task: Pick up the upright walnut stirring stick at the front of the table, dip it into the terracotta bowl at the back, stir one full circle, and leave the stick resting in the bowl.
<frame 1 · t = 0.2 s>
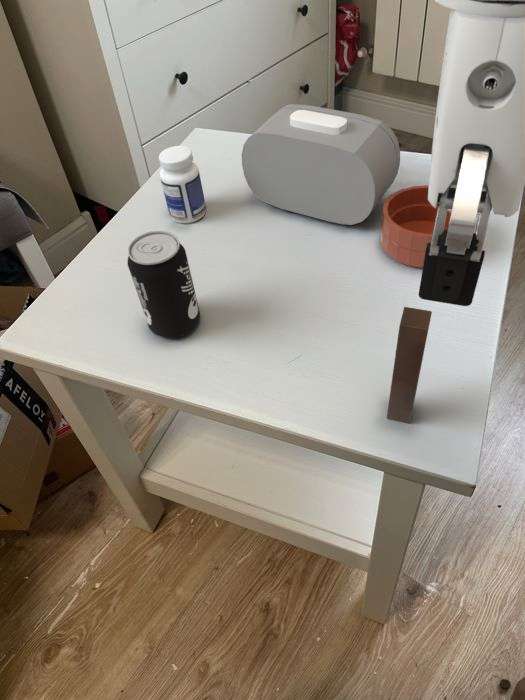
hand: (453, 251, 38), 24 cm above the table, tool pointing down, fingers open, 9 cm apart
beverage can: (175, 323, 71), on the table
bowl: (421, 243, 77), on the table
stick: (400, 412, 59), on the table
alarm clock: (320, 203, 86), on the table
pill bottle: (188, 214, 87), on the table
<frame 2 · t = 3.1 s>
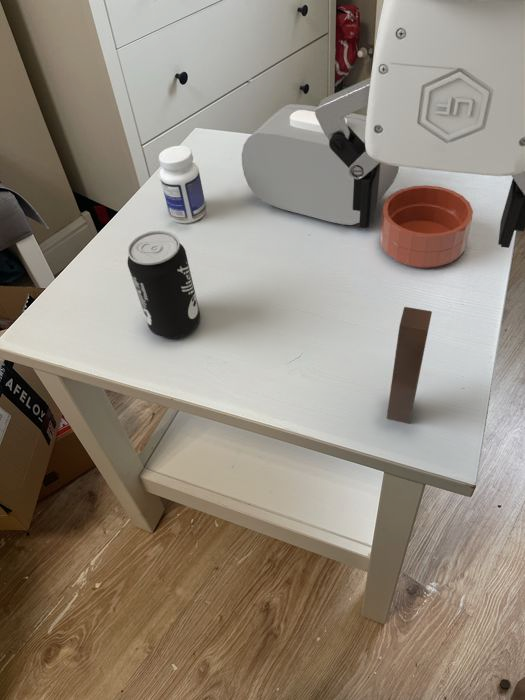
hand: (434, 226, 41), 24 cm above the table, tool pointing down, fingers open, 9 cm apart
nothing on the table moved.
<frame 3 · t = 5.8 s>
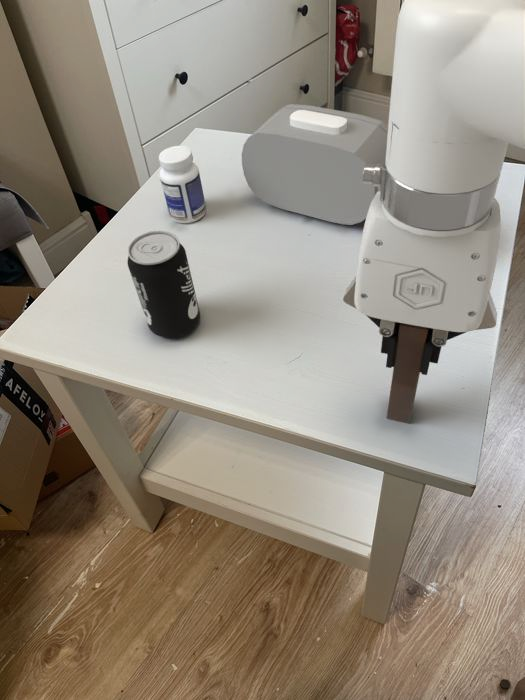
hand: (409, 358, 53), 9 cm above the table, tool pointing down, fingers closed on stick, 2 cm apart
stick: (400, 412, 59), on the table, touching gripper
everything else where it was.
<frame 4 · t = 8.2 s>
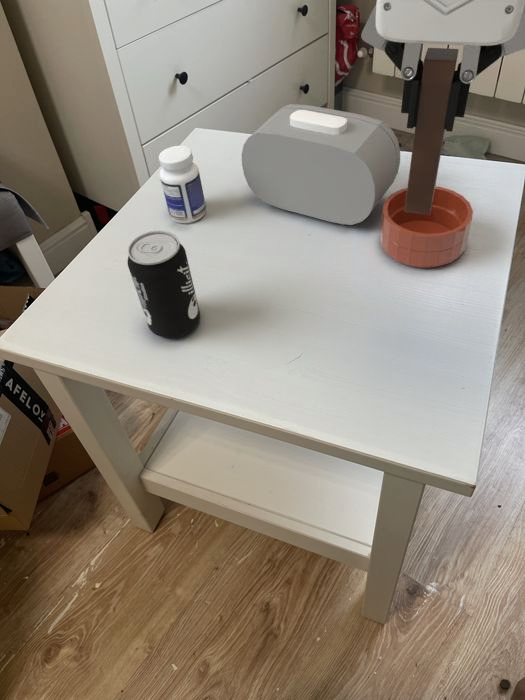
hand: (431, 120, 48), 25 cm above the table, tool pointing down, fingers closed on stick, 2 cm apart
stick: (418, 206, 55), point 17 cm above the table, touching gripper
everything else where it was.
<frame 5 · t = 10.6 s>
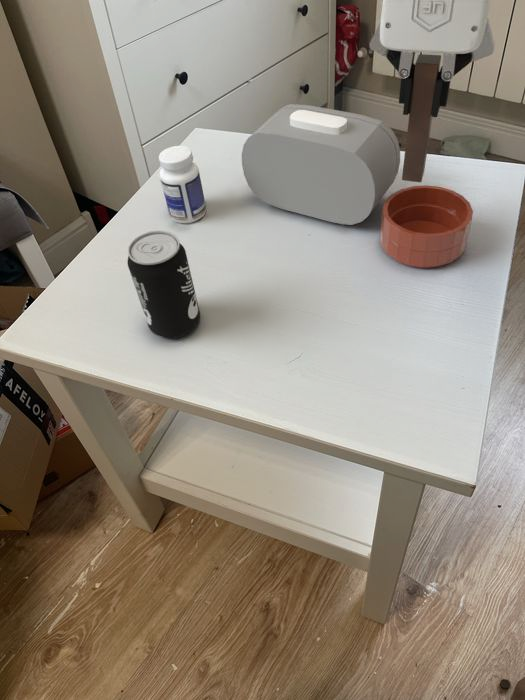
hand: (421, 109, 64), 19 cm above the table, tool pointing down, fingers closed on stick, 2 cm apart
stick: (412, 176, 70), point 10 cm above the table, touching gripper
everything else where it was.
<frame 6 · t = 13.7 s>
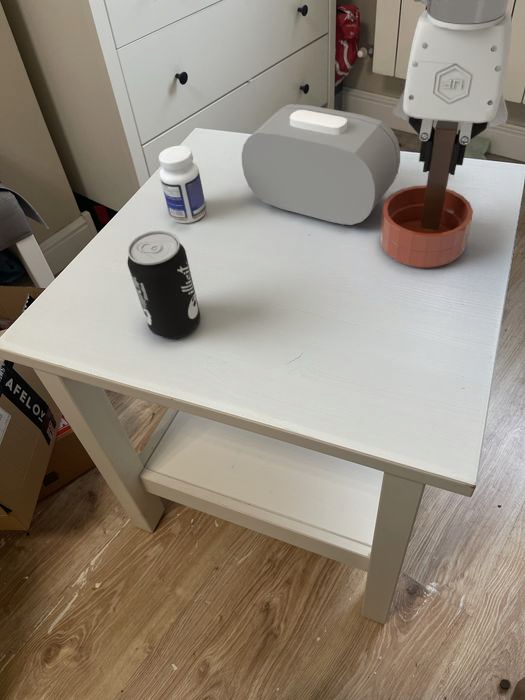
hand: (440, 166, 70), 11 cm above the table, tool pointing down, fingers closed on stick, 2 cm apart
stick: (430, 224, 76), point 2 cm above the table, touching gripper
everything else where it was.
when the fingers open (9 cm above the table, at t = 15.6 s): stick stays where it is, resting on bowl.
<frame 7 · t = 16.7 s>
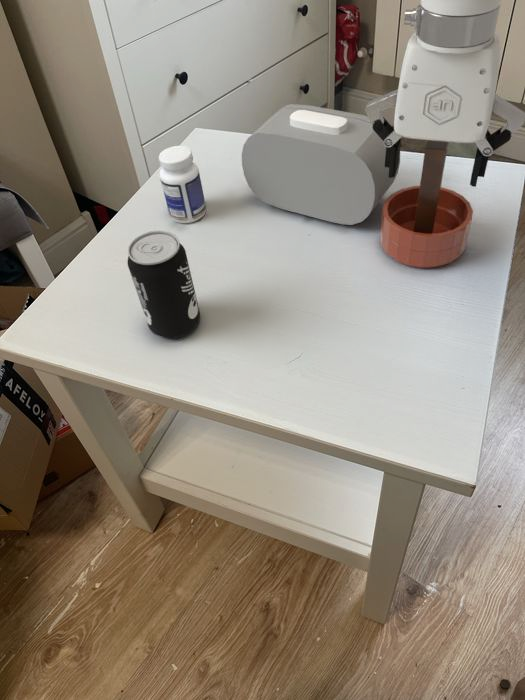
hand: (432, 176, 69), 10 cm above the table, tool pointing down, fingers open, 9 cm apart
stick: (422, 240, 77), point 1 cm above the table, touching bowl
everything else where it was.
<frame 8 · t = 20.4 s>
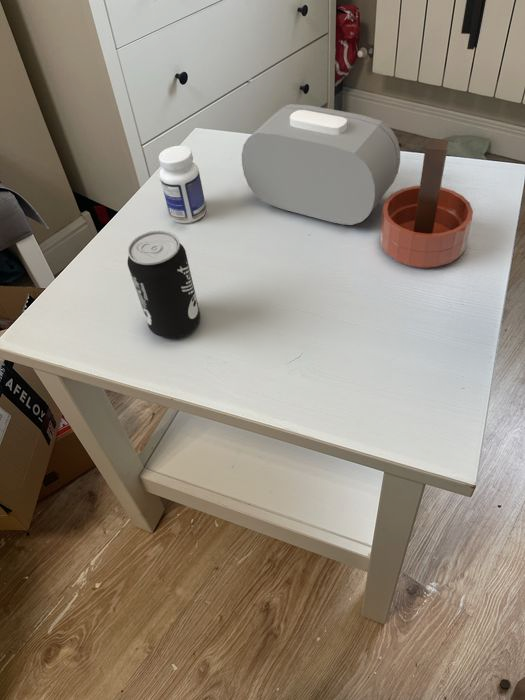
nothing on the table moved.
at the end: stick inside the target area in the bowl (0.1 cm from its centre), point 0.6 cm above the bowl's base; stick moved 28.6 cm from its start; the gripper is holding nothing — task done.
